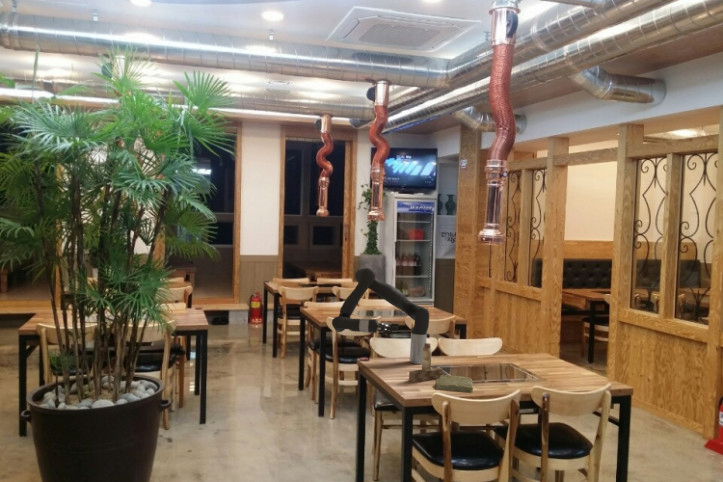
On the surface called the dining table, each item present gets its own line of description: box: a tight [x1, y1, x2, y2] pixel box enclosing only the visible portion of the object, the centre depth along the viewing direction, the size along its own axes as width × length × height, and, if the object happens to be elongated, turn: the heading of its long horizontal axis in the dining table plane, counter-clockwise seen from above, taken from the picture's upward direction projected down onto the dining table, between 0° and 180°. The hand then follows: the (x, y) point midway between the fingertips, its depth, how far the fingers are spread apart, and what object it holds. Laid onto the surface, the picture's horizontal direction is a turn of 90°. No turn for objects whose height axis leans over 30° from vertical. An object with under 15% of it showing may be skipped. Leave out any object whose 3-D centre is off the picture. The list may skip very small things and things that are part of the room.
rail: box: [408, 367, 444, 383], centre depth 334 cm, size 20×4×5 cm, turn 125°
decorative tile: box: [435, 374, 474, 393], centre depth 324 cm, size 19×20×4 cm
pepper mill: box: [421, 342, 433, 371], centre depth 334 cm, size 5×5×14 cm
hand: (397, 327), depth 344 cm, fingers open, 8 cm apart
